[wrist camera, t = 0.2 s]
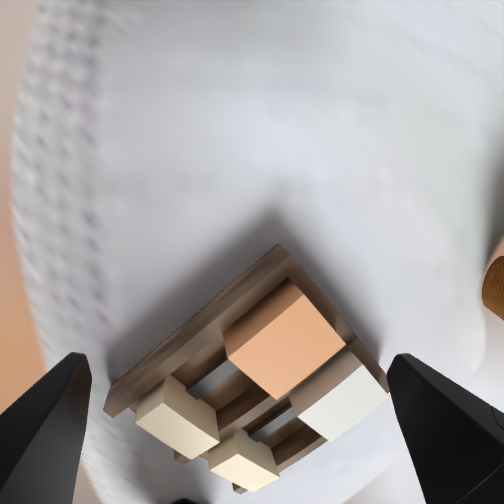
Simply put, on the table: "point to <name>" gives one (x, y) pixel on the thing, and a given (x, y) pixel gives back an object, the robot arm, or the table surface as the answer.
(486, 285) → the disposable coffee cup
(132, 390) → the lane rack
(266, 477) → the cream white block dumbbell
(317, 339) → the cream orange dumbbell block
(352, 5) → the table surface
